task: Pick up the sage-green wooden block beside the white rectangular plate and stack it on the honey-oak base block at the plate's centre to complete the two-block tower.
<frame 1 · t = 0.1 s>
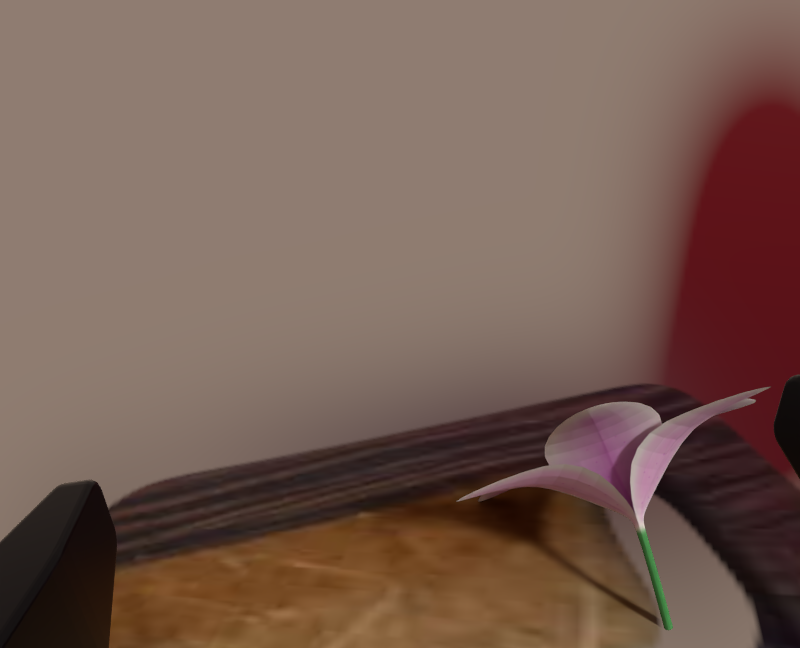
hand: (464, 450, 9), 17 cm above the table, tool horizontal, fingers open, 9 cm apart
lily: (602, 547, 29), on the table
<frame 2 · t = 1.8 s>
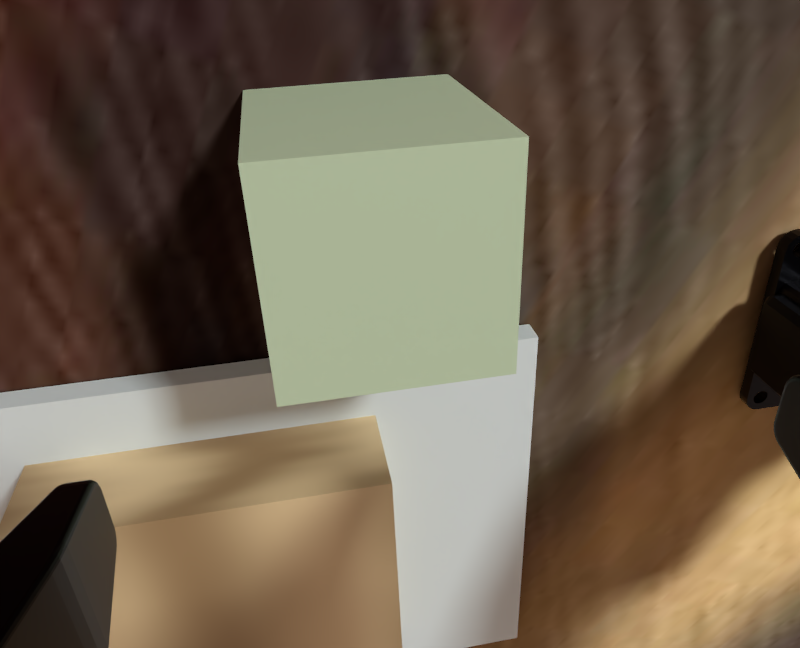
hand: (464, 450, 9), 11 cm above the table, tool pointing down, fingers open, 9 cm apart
white rectangular plate: (234, 540, 23), on the table
top block: (354, 181, 18), on the table
base block: (233, 558, 23), resting on white rectangular plate
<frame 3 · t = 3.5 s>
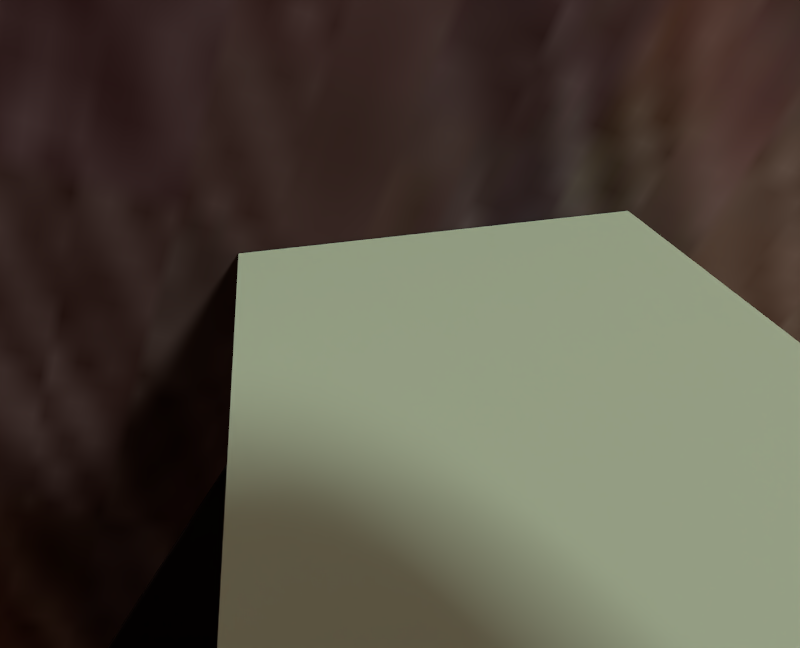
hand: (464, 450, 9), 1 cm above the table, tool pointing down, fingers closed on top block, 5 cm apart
top block: (442, 393, 10), on the table, touching gripper
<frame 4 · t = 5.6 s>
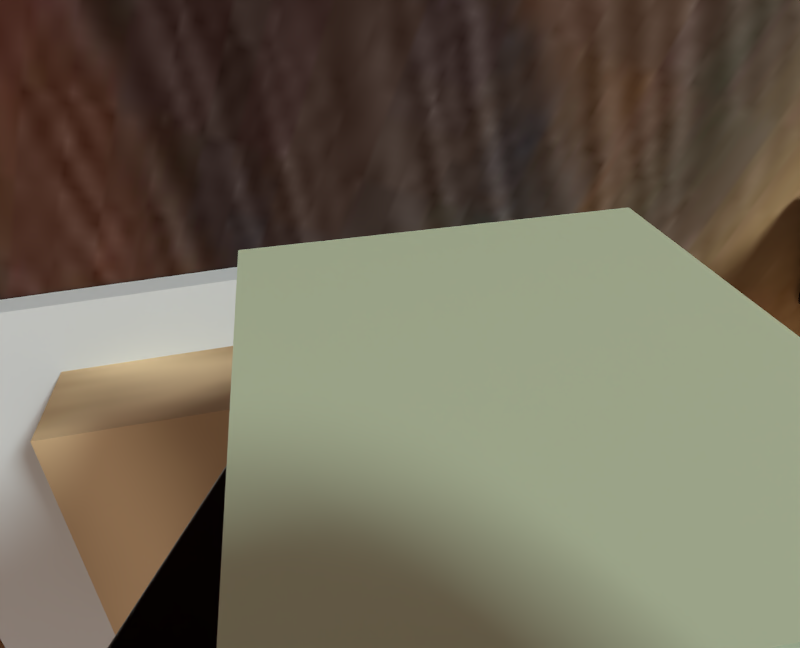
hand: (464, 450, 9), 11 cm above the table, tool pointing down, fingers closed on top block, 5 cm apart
white rectangular plate: (274, 460, 23), on the table
top block: (443, 390, 10), point 10 cm above the table, touching gripper
base block: (275, 477, 22), resting on white rectangular plate
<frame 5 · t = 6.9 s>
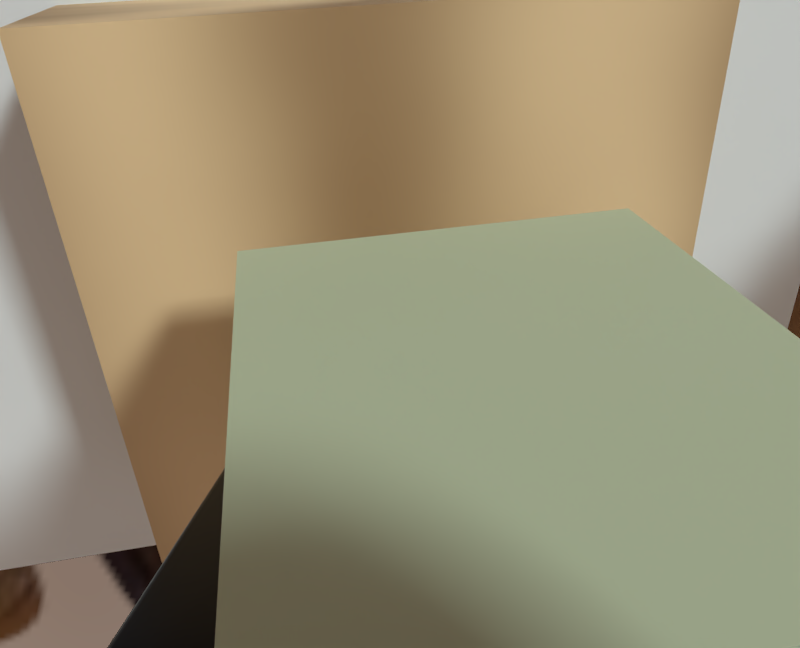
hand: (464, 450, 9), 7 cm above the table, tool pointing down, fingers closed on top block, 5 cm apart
white rectangular plate: (376, 240, 15), on the table
top block: (442, 391, 10), point 6 cm above the table, touching gripper
base block: (382, 255, 14), resting on white rectangular plate
when the fingers open (6 cm above the table, at t = 7.8 s): top block drops 1 cm, resting on base block.
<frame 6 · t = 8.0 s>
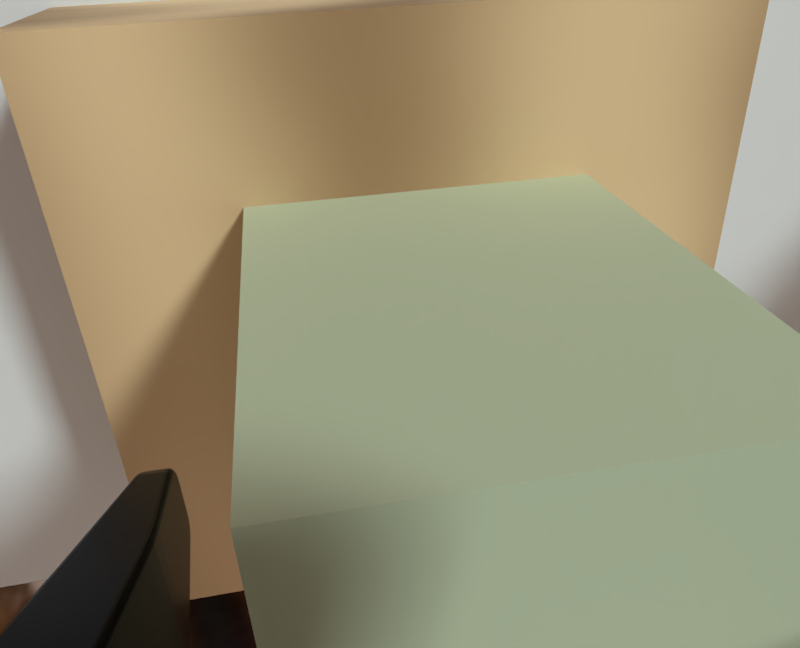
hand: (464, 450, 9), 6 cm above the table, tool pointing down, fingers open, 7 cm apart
white rectangular plate: (383, 250, 14), on the table
top block: (424, 339, 11), point 4 cm above the table, touching base block
base block: (389, 266, 14), resting on white rectangular plate
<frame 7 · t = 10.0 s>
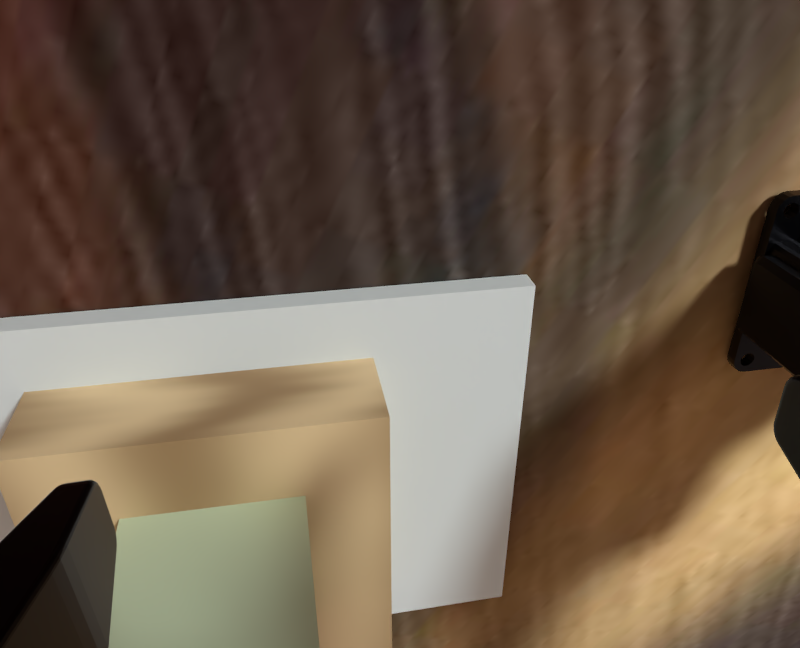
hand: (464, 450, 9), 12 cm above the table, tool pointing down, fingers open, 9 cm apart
white rectangular plate: (227, 483, 24), on the table
top block: (225, 569, 20), point 4 cm above the table, touching base block
base block: (226, 499, 23), resting on white rectangular plate
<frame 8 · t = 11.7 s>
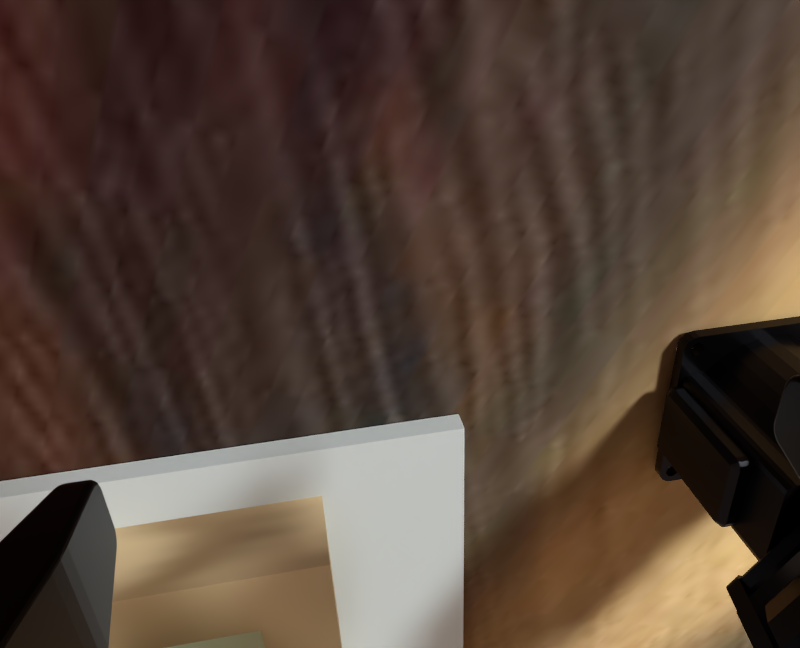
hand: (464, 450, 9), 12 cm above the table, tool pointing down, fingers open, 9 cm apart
white rectangular plate: (201, 599, 26), on the table
base block: (199, 617, 26), resting on white rectangular plate
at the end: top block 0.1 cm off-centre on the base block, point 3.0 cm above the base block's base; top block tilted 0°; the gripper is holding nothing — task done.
